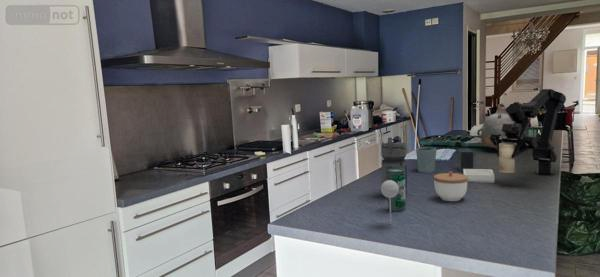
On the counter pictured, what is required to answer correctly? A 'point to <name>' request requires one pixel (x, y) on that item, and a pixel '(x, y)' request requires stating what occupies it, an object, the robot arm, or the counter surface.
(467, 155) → the small box
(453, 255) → the counter surface
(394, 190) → the lollipop
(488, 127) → the jug
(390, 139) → the beverage bottle
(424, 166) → the drinking glass
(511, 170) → the canister
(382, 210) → the counter surface
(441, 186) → the lidded bowl
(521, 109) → the robot arm
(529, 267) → the counter surface
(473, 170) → the tray
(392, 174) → the can
